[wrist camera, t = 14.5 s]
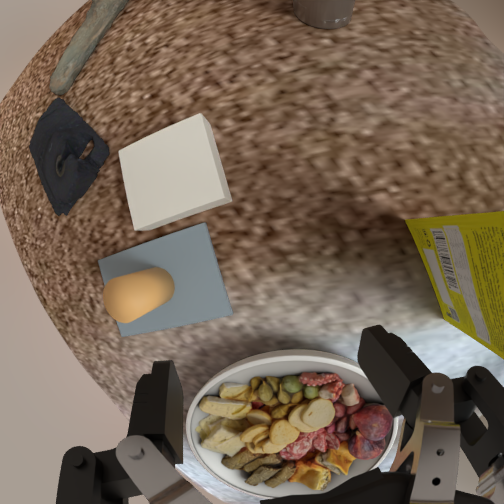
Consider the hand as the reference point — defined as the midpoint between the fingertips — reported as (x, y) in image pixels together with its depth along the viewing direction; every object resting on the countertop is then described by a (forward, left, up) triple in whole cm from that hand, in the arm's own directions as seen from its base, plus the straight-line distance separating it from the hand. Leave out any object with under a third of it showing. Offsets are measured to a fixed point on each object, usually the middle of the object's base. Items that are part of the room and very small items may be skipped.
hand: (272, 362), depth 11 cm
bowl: (+23, -5, -24) cm, 34 cm away
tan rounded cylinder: (-3, -17, -23) cm, 28 cm away
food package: (+5, +18, -24) cm, 30 cm away
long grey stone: (-57, -21, -24) cm, 66 cm away
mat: (-3, -17, -24) cm, 29 cm away
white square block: (-16, -10, -24) cm, 30 cm away
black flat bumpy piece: (-30, -30, -24) cm, 49 cm away
